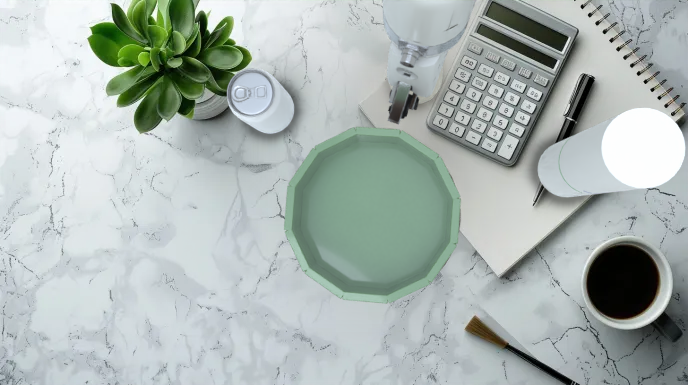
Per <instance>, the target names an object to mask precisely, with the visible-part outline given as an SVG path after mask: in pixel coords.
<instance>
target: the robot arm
mask: <svg viewBox="0 0 688 385" xmlns="http://www.w3.org/2000/svg"><path fill="white" fill-rule="evenodd" d="M476 1H477V0H382V22H383V26H384V27H383V28H384V31H385V33H386V35H387V37H388V39H389V40H390V44H389V49H388V58H387V59H388V60H387V68H386V79H387V82H388V85H389V84H390V85H391V86H393V88H392V90H391V89H390V91H389V99H388V103H390V105H389V106H388V109H387V112H388V117H387V122H390V123H393V124H396V125H399V124H400V123H401V122H402V121H401V120H404V119H405V118H407V116H408V114H409V110H411V111H417V110H418V106H419V104H418V103H419V99H418V98H419V97H417V96H422V97H428V96H430V95H431V94H432V93H433V90H434V88H435V85H436V83H437V80H438V77H439V74H440V72H441V69H442V68H443V66H444V64H445V61H446V58H447V55H448V52H449V51H450V50H452V49H453V48H454V47H456V45H457V44H458V43H459V42H460V41H461V39H462V38H463V36H464V34H465V32H466V29H467V27H468V24H469V21H470V18H471V15H472V13H473V10H474V7H475V4H476ZM390 85H389V86H390ZM410 91H413V95H411V94H409V92H410Z"/></svg>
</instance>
